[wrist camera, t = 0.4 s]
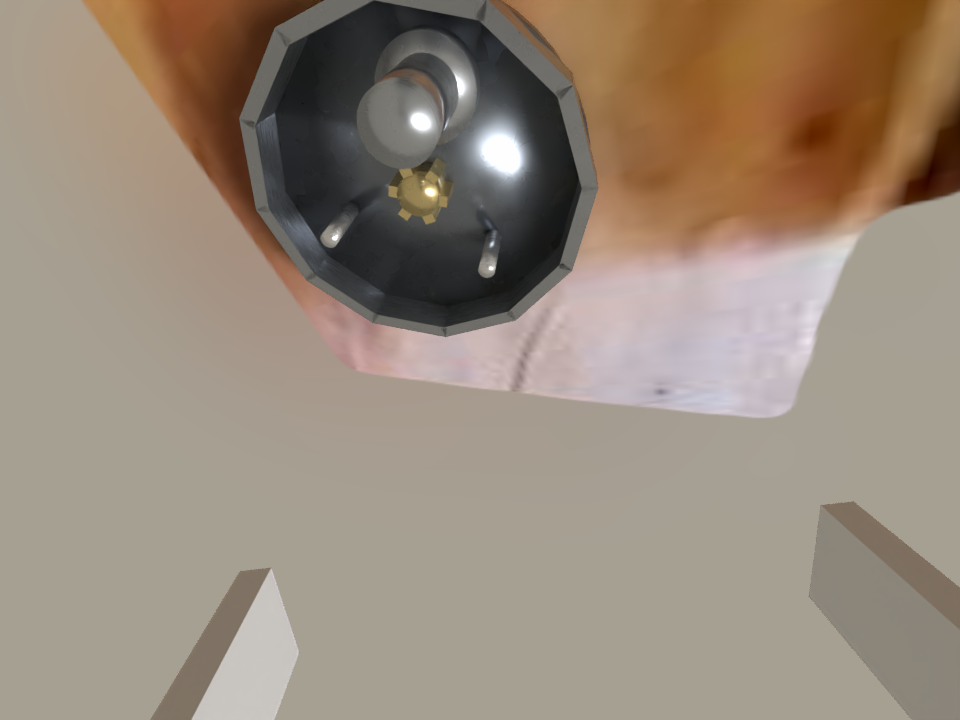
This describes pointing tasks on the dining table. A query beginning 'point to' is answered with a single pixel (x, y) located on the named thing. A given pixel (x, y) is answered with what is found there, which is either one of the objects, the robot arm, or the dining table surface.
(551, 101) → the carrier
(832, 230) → the dining table surface
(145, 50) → the dining table surface
